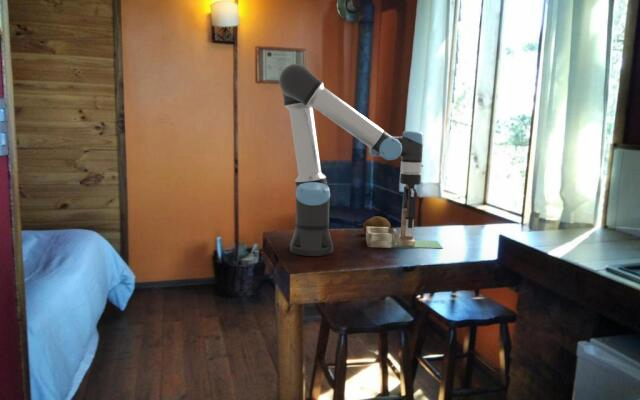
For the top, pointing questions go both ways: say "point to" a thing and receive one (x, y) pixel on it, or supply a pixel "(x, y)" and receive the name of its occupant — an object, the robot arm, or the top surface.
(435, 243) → the plate
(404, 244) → the kicker
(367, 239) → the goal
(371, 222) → the potato
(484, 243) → the top surface
